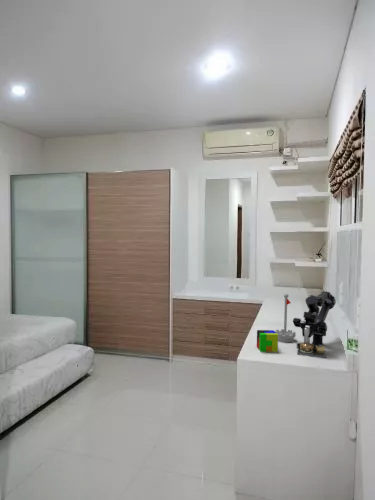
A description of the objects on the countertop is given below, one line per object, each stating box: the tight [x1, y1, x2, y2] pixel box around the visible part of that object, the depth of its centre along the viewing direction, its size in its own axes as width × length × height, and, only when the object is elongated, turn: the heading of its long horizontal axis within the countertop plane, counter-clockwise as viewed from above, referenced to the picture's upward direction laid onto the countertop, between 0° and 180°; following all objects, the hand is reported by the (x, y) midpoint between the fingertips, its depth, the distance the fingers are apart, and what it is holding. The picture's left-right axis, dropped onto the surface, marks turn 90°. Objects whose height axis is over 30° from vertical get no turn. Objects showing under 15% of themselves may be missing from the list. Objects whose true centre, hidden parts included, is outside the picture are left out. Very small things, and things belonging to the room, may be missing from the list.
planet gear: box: [299, 326, 314, 351], centre depth 216 cm, size 8×7×12 cm
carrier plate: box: [296, 342, 327, 359], centre depth 215 cm, size 12×16×5 cm
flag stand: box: [274, 293, 297, 343], centre depth 241 cm, size 13×13×30 cm
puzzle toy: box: [256, 329, 279, 353], centre depth 221 cm, size 10×10×10 cm
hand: (306, 336), depth 215 cm, fingers closed on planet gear, 3 cm apart
